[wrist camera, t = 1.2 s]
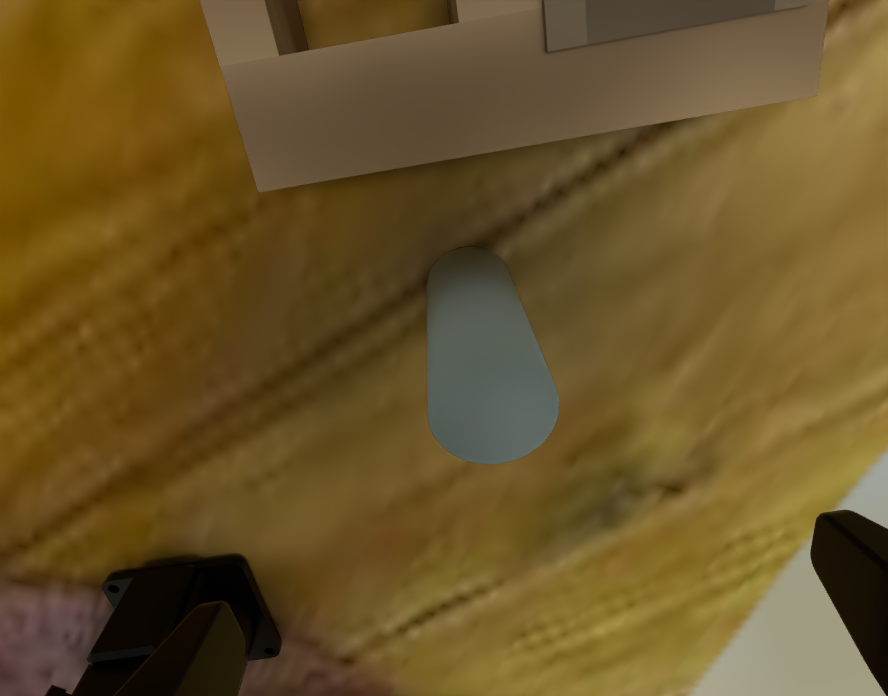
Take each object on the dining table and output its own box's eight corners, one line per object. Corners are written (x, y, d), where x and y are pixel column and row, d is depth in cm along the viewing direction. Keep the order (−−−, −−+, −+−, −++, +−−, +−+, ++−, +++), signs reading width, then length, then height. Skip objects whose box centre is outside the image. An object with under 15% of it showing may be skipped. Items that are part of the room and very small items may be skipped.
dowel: (515, 319, 20) (563, 453, 13) (434, 331, 21) (439, 472, 13) (506, 240, 19) (554, 342, 12) (419, 254, 19) (416, 364, 12)
